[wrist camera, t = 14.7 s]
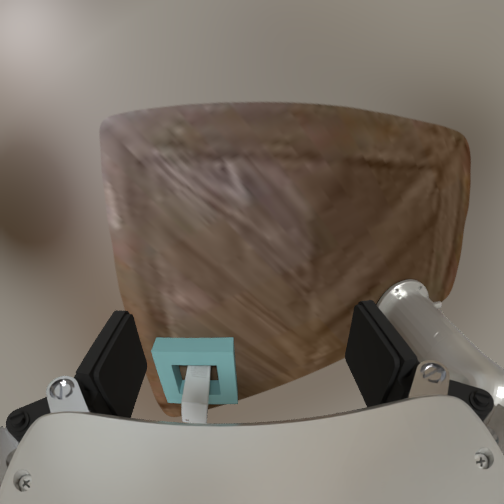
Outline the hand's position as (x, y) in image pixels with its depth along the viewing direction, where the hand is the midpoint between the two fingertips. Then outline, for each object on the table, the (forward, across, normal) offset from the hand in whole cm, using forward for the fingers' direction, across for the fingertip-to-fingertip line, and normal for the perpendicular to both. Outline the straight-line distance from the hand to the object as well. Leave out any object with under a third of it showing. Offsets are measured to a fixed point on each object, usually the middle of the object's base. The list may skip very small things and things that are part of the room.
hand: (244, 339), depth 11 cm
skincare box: (+31, +9, +30) cm, 44 cm away
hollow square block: (+30, +9, +30) cm, 44 cm away
